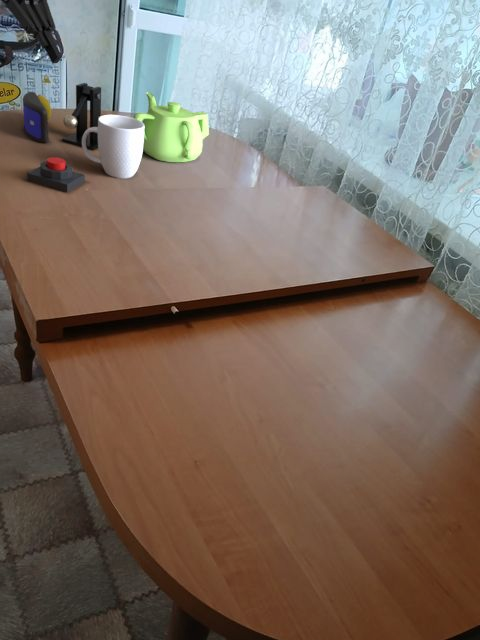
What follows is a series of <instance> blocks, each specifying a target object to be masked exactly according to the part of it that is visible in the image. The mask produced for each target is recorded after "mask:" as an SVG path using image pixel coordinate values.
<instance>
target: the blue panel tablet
mask: <svg viewBox="0 0 480 640" xmlns="http://www.w3.org/2000/svg"><path fill="white" fill-rule="evenodd" d="M22 110H23V125H24V126H23V127H24V132H25V134H26V135H27V136H28V137H29V138H30V139H31V140H33V141H35V142H37V143H40V144H47V143H48V142H49V125H48V124H49V123H48V120H47V111H46V108H45V107H44V105H43V104H42V102H41V101H40V99H39V98H38V94H37V93H36V92H34V91H28V92H26V93H25V94H24V95H23V96H22Z"/></svg>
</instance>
